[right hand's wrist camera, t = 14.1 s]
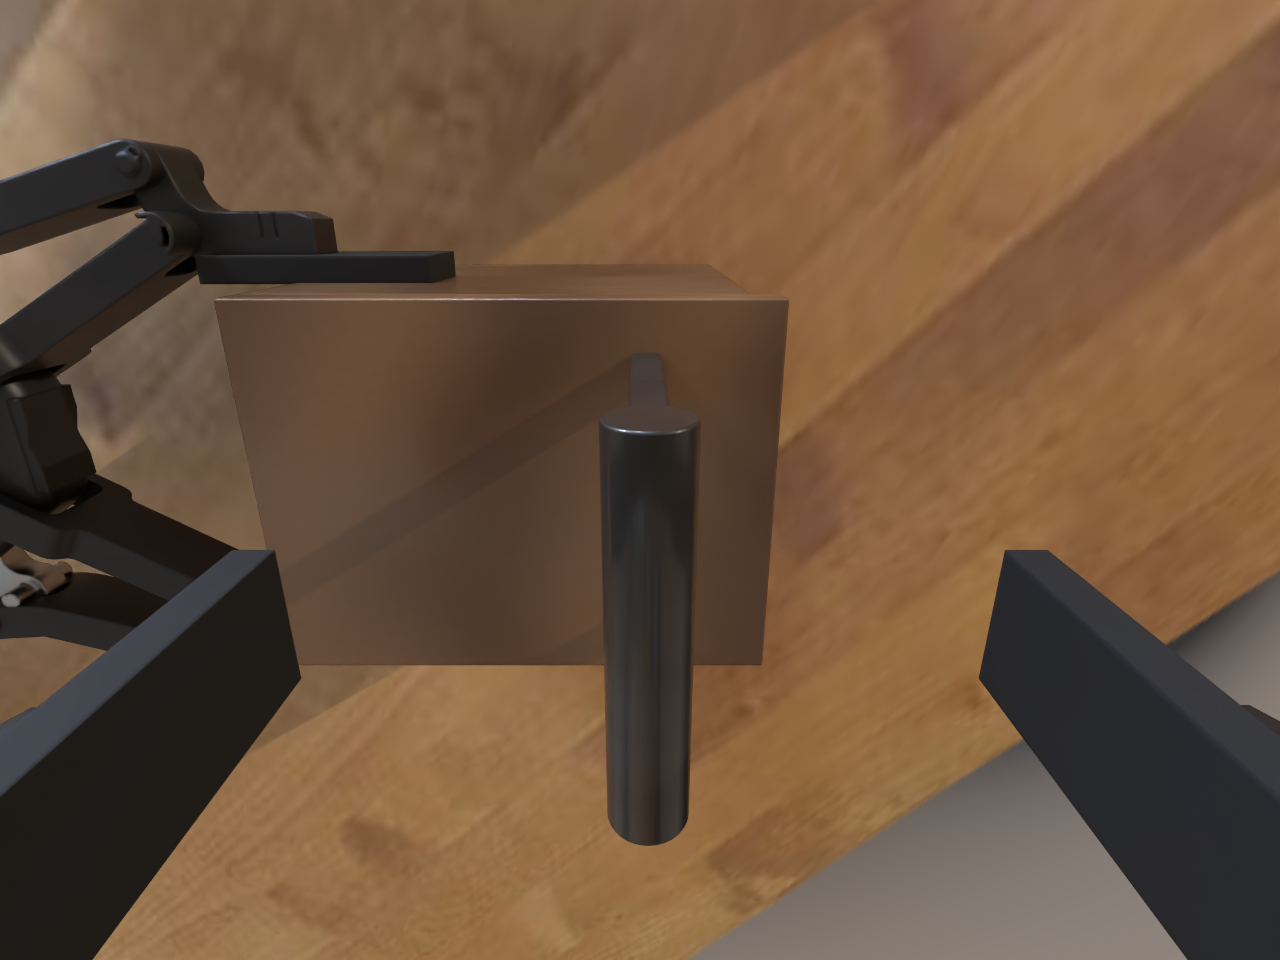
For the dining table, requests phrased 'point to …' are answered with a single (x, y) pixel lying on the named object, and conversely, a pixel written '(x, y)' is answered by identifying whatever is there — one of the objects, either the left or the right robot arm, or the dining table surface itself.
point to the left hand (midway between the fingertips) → (460, 438)
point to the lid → (523, 492)
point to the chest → (544, 281)
